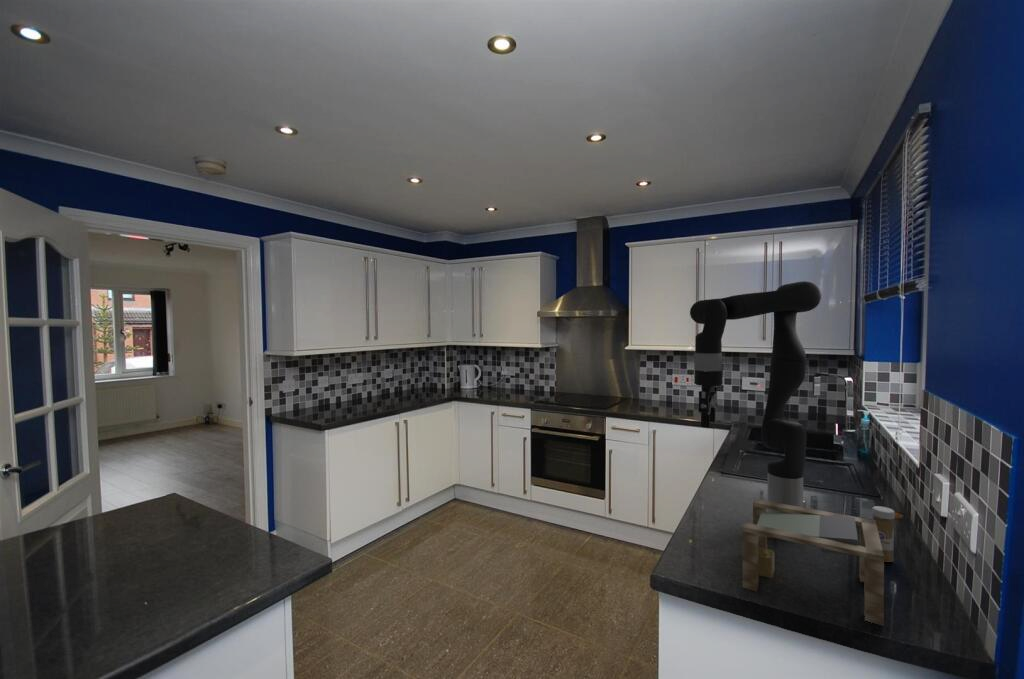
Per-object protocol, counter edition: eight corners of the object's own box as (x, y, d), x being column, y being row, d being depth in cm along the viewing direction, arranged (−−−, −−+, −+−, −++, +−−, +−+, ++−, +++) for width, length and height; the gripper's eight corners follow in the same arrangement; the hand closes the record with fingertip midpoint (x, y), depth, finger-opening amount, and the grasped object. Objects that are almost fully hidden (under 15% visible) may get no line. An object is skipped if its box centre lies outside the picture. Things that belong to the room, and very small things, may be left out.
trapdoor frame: (874, 579, 112) (875, 520, 111) (883, 626, 94) (884, 556, 94) (754, 551, 126) (754, 498, 126) (742, 587, 109) (742, 526, 109)
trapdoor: (857, 531, 111) (854, 517, 111) (860, 555, 99) (857, 539, 99) (763, 525, 122) (761, 512, 122) (756, 546, 110) (754, 531, 110)
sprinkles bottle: (871, 560, 121) (871, 509, 121) (872, 553, 125) (872, 504, 124) (894, 565, 118) (894, 513, 118) (894, 558, 122) (894, 508, 121)
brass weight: (774, 570, 117) (752, 564, 120) (774, 550, 117) (752, 545, 120) (771, 578, 113) (749, 572, 116) (771, 558, 113) (749, 552, 116)
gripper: (699, 366, 141) (699, 419, 142) (689, 370, 130) (689, 427, 130) (726, 367, 137) (726, 421, 138) (717, 371, 125) (717, 430, 126)
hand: (708, 424), depth 134 cm, fingers open, 8 cm apart
